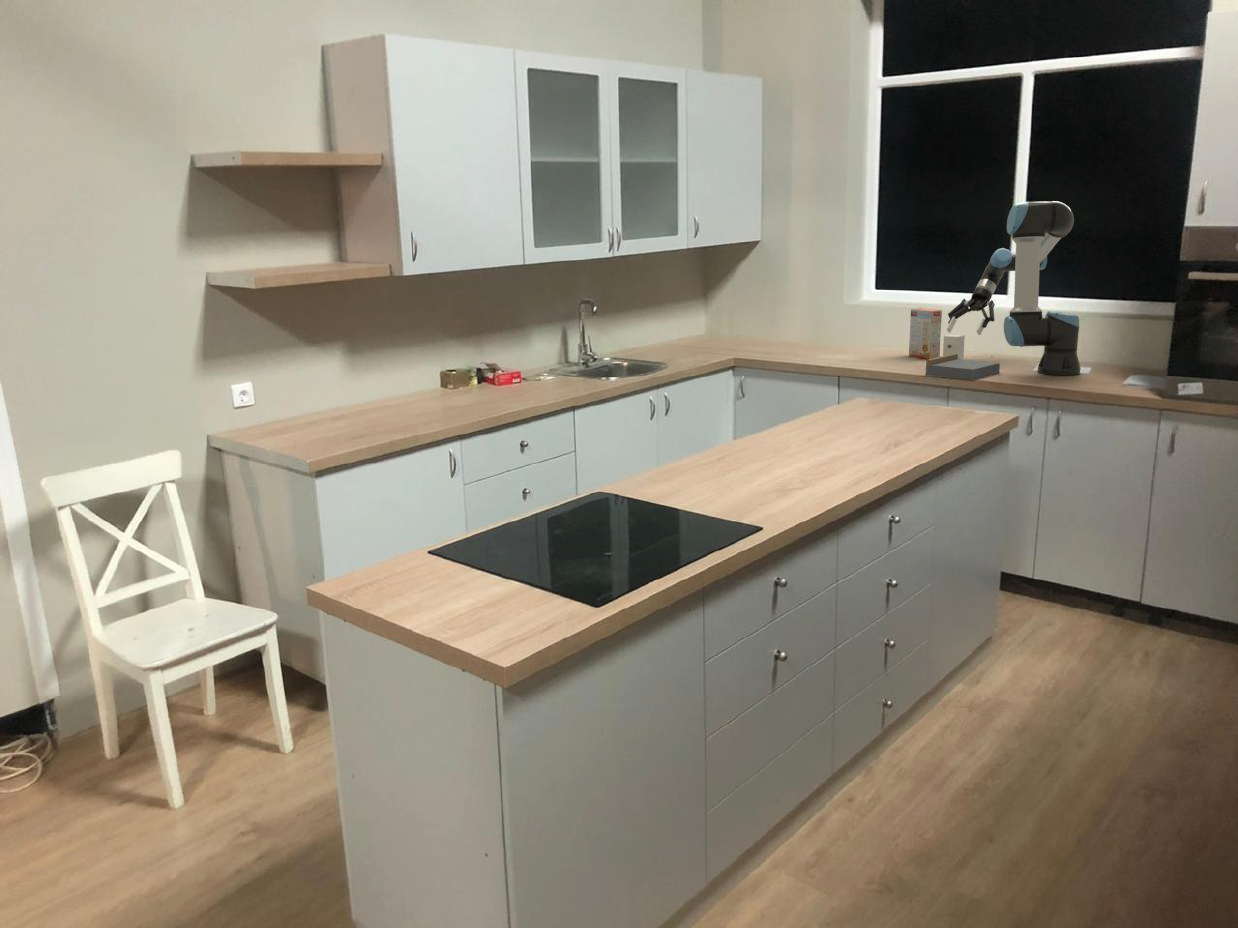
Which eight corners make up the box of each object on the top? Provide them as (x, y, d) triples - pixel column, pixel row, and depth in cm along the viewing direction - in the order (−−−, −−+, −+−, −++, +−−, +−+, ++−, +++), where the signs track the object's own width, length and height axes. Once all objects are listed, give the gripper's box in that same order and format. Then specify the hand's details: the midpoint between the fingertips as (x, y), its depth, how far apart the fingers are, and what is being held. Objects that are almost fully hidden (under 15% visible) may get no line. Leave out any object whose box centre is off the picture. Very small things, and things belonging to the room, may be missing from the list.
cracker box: (940, 358, 423) (942, 310, 418) (929, 359, 421) (931, 310, 416) (919, 354, 436) (921, 307, 431) (908, 355, 434) (910, 308, 429)
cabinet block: (963, 364, 407) (964, 335, 404) (954, 366, 402) (955, 337, 399) (950, 363, 411) (951, 334, 408) (941, 365, 407) (942, 336, 404)
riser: (999, 373, 383) (1000, 357, 382) (973, 380, 370) (974, 364, 369) (952, 368, 398) (953, 353, 396) (925, 374, 385) (926, 359, 383)
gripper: (1014, 299, 409) (994, 339, 403) (959, 297, 427) (939, 335, 421) (1008, 287, 404) (988, 328, 398) (953, 285, 422) (933, 324, 416)
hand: (963, 332), depth 410 cm, fingers open, 13 cm apart
